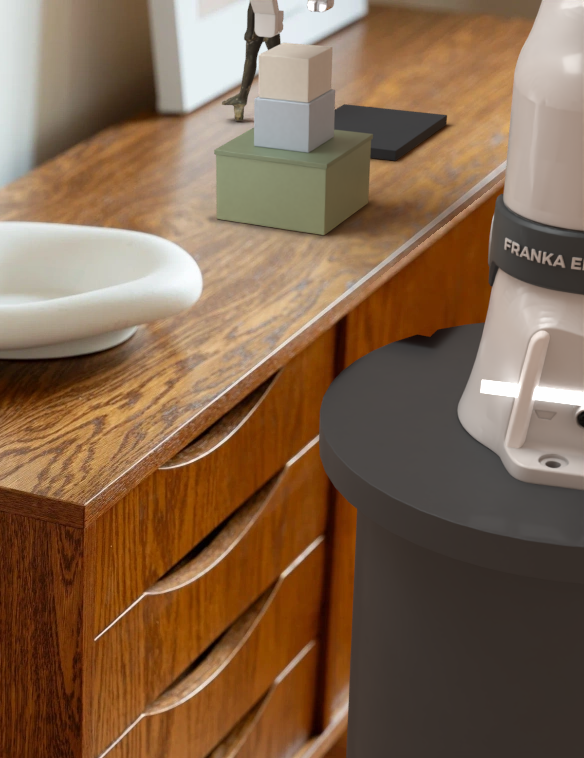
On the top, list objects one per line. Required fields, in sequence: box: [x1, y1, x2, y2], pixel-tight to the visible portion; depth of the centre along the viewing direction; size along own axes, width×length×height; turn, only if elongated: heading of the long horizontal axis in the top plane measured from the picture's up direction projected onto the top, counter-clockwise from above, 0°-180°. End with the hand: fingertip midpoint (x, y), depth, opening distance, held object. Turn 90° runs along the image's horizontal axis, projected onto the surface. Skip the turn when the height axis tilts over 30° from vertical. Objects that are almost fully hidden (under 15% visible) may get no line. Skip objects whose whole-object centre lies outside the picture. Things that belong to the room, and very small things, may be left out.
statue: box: [221, 2, 282, 122], centre depth 148 cm, size 5×6×20 cm
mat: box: [334, 103, 448, 162], centre depth 146 cm, size 11×13×1 cm
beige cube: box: [257, 42, 333, 103], centre depth 122 cm, size 4×4×4 cm
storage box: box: [213, 127, 373, 236], centre depth 126 cm, size 10×9×6 cm
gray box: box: [253, 88, 336, 153], centre depth 124 cm, size 5×5×4 cm
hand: (295, 22), depth 120 cm, fingers open, 8 cm apart
